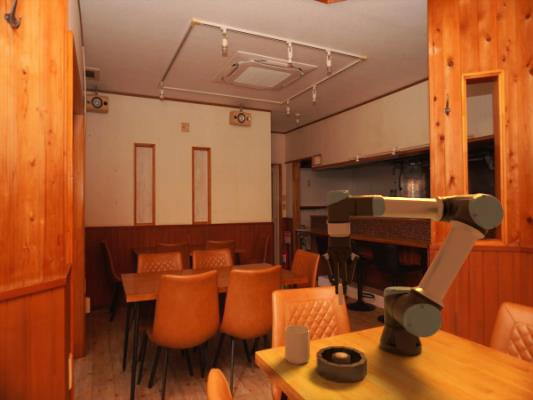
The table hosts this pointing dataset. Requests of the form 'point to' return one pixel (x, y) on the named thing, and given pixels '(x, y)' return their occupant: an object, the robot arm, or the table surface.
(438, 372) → the table surface
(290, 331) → the mug
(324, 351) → the brown ring
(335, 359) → the brown short cylinder
